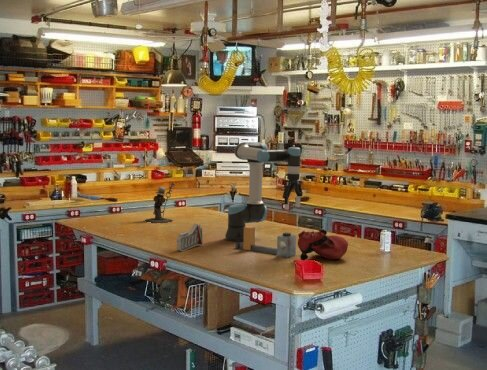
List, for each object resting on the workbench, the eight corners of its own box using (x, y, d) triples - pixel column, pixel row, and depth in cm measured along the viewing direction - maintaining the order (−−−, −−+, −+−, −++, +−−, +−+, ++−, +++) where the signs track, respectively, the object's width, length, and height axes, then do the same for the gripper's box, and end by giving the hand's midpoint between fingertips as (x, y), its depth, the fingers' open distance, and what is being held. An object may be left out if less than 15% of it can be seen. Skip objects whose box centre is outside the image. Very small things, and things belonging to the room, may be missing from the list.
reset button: (282, 242, 361) (282, 233, 361) (285, 241, 364) (285, 232, 363) (287, 243, 359) (287, 234, 359) (290, 242, 362) (290, 233, 362)
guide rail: (235, 248, 380) (235, 242, 379) (239, 247, 384) (239, 241, 384) (278, 255, 363) (278, 249, 362) (282, 253, 367) (282, 248, 366)
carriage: (243, 249, 376) (243, 227, 375) (248, 247, 381) (248, 225, 379) (249, 250, 373) (250, 227, 372) (254, 248, 378) (255, 226, 377)
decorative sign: (180, 255, 368) (179, 231, 365) (177, 255, 369) (175, 231, 366) (203, 245, 387) (201, 222, 384) (199, 245, 388) (198, 222, 386)
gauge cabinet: (276, 256, 360) (277, 236, 359) (285, 253, 369) (285, 233, 367) (286, 257, 356) (287, 237, 355) (295, 254, 365) (296, 235, 363)
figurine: (138, 222, 469) (138, 183, 465) (151, 217, 491) (151, 180, 487) (165, 224, 462) (166, 184, 459) (177, 219, 484) (178, 182, 481)
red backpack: (357, 233, 351) (313, 229, 337) (351, 268, 352) (307, 264, 338) (332, 226, 372) (291, 221, 358) (327, 258, 373) (285, 255, 359)
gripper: (298, 171, 379) (297, 205, 382) (277, 174, 359) (276, 209, 361) (308, 172, 375) (307, 206, 377) (288, 175, 354) (287, 211, 357)
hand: (292, 208), depth 369 cm, fingers open, 13 cm apart
